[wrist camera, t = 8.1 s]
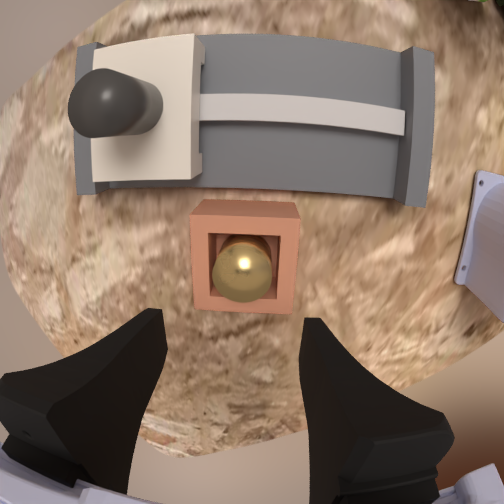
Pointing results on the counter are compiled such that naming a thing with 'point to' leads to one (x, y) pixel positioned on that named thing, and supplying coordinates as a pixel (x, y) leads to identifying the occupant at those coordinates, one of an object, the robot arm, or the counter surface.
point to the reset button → (243, 268)
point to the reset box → (245, 222)
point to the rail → (302, 118)
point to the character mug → (500, 2)
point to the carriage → (142, 109)
